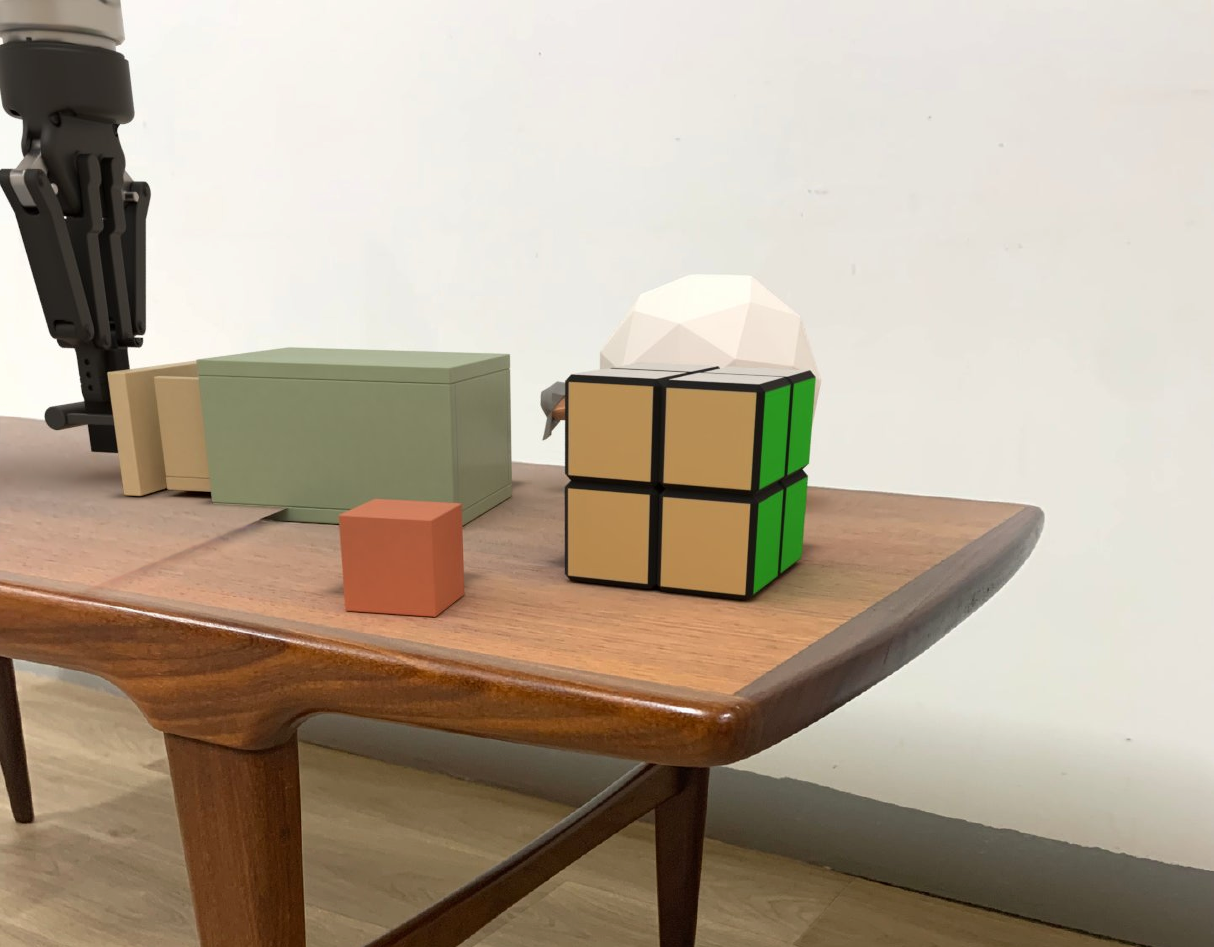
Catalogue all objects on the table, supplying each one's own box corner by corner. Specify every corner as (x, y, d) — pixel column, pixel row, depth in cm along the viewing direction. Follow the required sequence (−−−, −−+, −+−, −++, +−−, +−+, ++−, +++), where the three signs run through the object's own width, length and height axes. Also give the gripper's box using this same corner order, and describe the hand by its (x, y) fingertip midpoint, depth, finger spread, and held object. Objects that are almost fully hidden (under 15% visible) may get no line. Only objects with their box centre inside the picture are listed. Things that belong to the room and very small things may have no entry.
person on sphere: (842, 443, 91) (583, 463, 97) (824, 223, 82) (539, 261, 88) (817, 540, 81) (529, 555, 87) (794, 301, 71) (472, 337, 77)
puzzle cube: (633, 545, 72) (638, 361, 68) (803, 562, 69) (818, 370, 65) (561, 581, 64) (561, 374, 60) (750, 603, 60) (764, 384, 56)
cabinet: (213, 517, 78) (195, 359, 74) (299, 485, 89) (288, 347, 86) (455, 531, 75) (449, 367, 71) (512, 496, 87) (510, 354, 83)
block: (344, 610, 58) (338, 514, 56) (379, 589, 62) (374, 498, 60) (435, 617, 57) (431, 520, 55) (464, 594, 61) (462, 503, 59)
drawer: (28, 490, 80) (8, 368, 77) (126, 464, 91) (111, 356, 88) (340, 507, 77) (331, 380, 74) (405, 478, 87) (399, 366, 84)
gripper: (51, 26, 68) (112, 467, 78) (174, 61, 80) (213, 442, 90) (-69, 28, 70) (4, 462, 79) (68, 63, 81) (118, 437, 91)
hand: (115, 451), depth 84 cm, fingers closed
